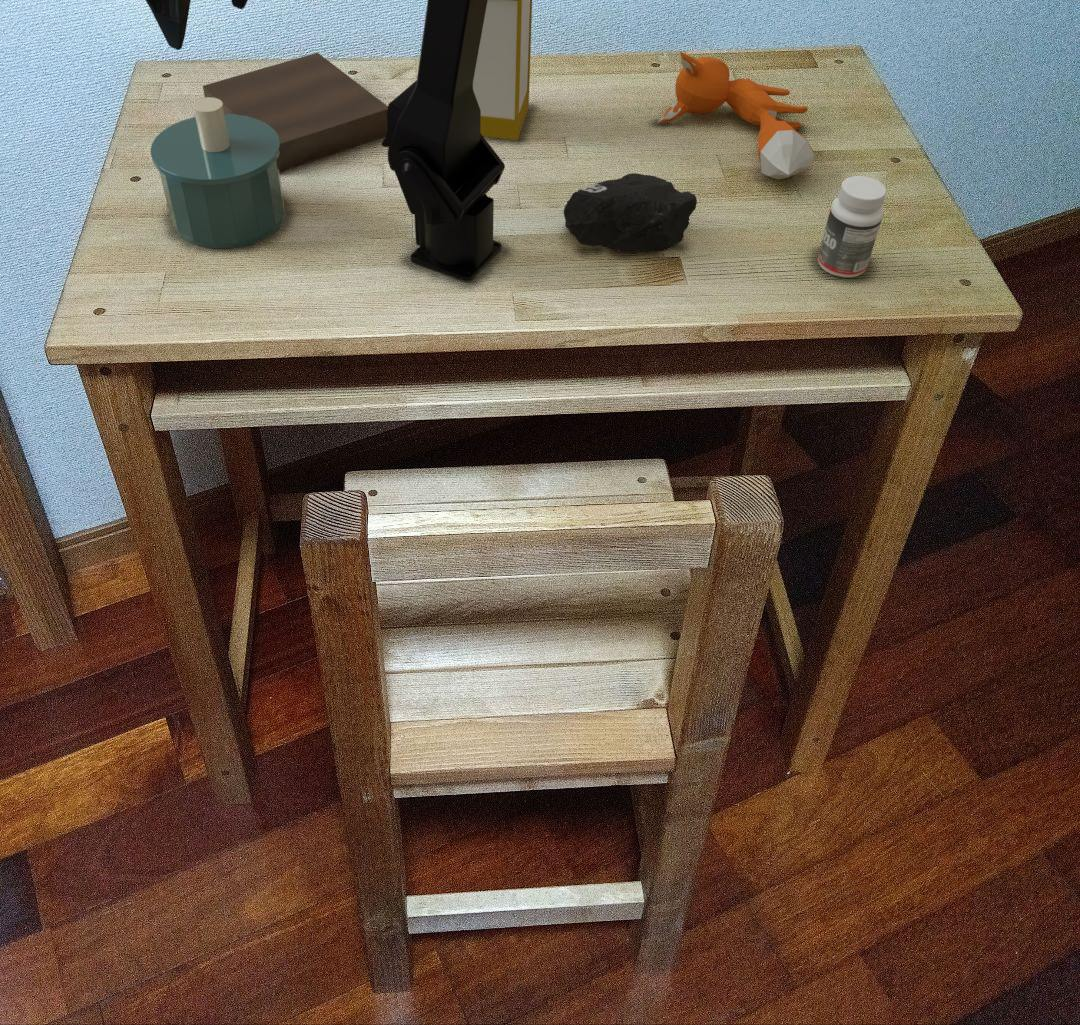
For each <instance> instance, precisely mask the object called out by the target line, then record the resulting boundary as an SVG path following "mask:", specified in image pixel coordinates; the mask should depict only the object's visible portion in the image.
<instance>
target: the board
mask: <svg viewBox="0 0 1080 1025" xmlns="http://www.w3.org/2000/svg"><path fill="white" fill-rule="evenodd" d="M202 90H203V95H204V98H208V97H212V98H217V99H220V100H221V101H222V102H223V107H224V112H225V114H235V115H242V116H247V117H251V118H255V119H257V120H260V121H262V122H264V123H266V124H268V125H269V126H270V127H272V128H273V129H274V130H275V132H276V133H277V134H278V137H279V139H280V146H281V149H280V154H279V157H278V158H277V159H278V165H279V172H280V173H281V172H284V171H287V170H289V169H293V168H296V167H299V166H302V165H305V164H308V163H312V162H314V161H316V160H320V159H323V158H326V157H329V156H331V155H334V154H335V155H336V154H337V153H340V152H344V151H347V150H350V149H353V148H354V147H358V146H362V145H365V144H367V143H370V142H373V141H376V140H379V139H383V138H385V137H386V134H387V110H388V105H387V104H386V103H384V102H383V101H382V100H380V99H379V98H378V97H377V96H375V95H374V94H373V93H371V91H369V90H367V89H366V88H365V87H363V86H362V85H361V84H359V83H358V82H357V81H355V79H353V78H352V77H351V76H349V75H348V74H346V73H345V72H344V71H342V69H340V68H339V67H337V66H336V65H335V64H334V63H332V62H331V61H329V60H328V59H327V58H326V57H324V56H323V55H322V54H320V53H319V52H314V53H310V54H308V55H304V56H300V57H298V58H297V57H296V58H294V59H290V60H287V61H283V62H280V63H276V64H272V65H270V66H266V67H263V68H260V69H256V70H252V71H248V72H245V73H242V74H238V75H235V76H231V77H228V78H225V79H221V80H217V81H213V82H211V83H207V84H204V85H202Z"/></svg>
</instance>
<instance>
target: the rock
mask: <svg viewBox="0 0 1080 1025" xmlns="http://www.w3.org/2000/svg"><path fill="white" fill-rule="evenodd" d="M697 204H698V199H697V196H696V194H694V193H691V192H690V191H679V190H678V189H676V188H675V187H674V184H673V183H672V181H667V180H666V179H664V178H661V177H658V176H656V175H655V176H654V175H650V174H642V173H635V172H633V173H632V172H631V173H627V174H625V175H623V176H622V177H620V178H616V179H608V180H607V179H606V180H604V181H600V182H597V183H593V184H591V185H589V186H586V187H583V188H580V189H578V190H577V191H574V192H573V193H572V194H571V196H570V198H569V199H568V200H567V201H566V204H565V205H564V208H563V216H564V220H565V222H564V227H565V228H566V229H568V232H569V233H570V235H572V236H573V237H574V238H575V239H576V240H577V242H578V243H579V245H582V246H587V247H588V246H589V247H599V246H600V247H603V248H606V249H608V250H612V251H618V252H621V253H625V254H634V253H638V252H642V253H643V252H661V251H667V250H670V249H672V248H674V247H675V245H678V244H680V243H681V242H683V239H684V237H685V236H684V234H685V231H686V230H687V228H688V227H689V225H690V216H691V215H692V214H693V212H694V211H695V210H696V209H697Z"/></svg>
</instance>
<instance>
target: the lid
mask: <svg viewBox="0 0 1080 1025" xmlns="http://www.w3.org/2000/svg"><path fill="white" fill-rule="evenodd" d="M192 108H193V113H194V116H193V117H190V118H186V119H184V120H180V121H178V122H175V123H174V124H171V125H169V126H167V127H166V128H165V129H163V130H162V131H161V132H159V134H157V135H156V137H155V138H154V139H153V141H152V143H151V146H150V157H151V161H152V164H153V166H154V167H155V168H156V170H157V171H160V172H161V173H162V174H164V175H166V176H167V177H169V178H172V179H174V180H177V181H180V182H184V183H189V184H196V185H220V184H228V183H234V182H238V181H242V180H245V179H248V178H251V177H253V176H256V175H258V174H260V173H262V172H263V171H265V170H266V169H268V168H269V167H270V166H271V165H273V163H274V162H275V161H276V160H277V158H278V157H279V154H280V149H281V146H280V139H279V137H278V134H277V133H276V132H275V130H274V129H273V128H272V127H270V126H269V125H268V124H266V123H264V122H262V121H260V120H257V119H255V118H251V117H247V116H242V115H235V114H225V112H224V107H223V102H222V101H221V100H220V99H217V98H212V97H208V98H205V97H202V98H199V99H197V100H196V101H194V102H193V104H192ZM160 172H159V173H160Z"/></svg>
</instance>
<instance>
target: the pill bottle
mask: <svg viewBox="0 0 1080 1025" xmlns="http://www.w3.org/2000/svg"><path fill="white" fill-rule="evenodd" d="M886 194H887V188H886V186H885V185H884V184H883V183H882V182H881V181H880V180H878V179H875V178H873V177H870V176H866V175H853V176H849V177H846V178H845V179H844V180H843V181H842V183H841V185H840V189H839V191H838V196H836V198H835V199H834V200H832V203H831V205H830V209H829V213H828V217H827V221H826V224H825V228H824V232H823V236H822V239H821V243H820V247H819V251H818V254H817V262H818V265H819V267H820V268H821V269H822V270H824V271H825V272H826V273H828V274H830V275H831V276H832V275H833V276H836V277H841V278H856V277H858V276H861V275H862V274H864V273H865V272H866V271H867V268H868V266H869V263H870V259H871V256H872V252H873V249H874V246H875V244H876V240H877V237H878V234H879V230H880V227H881V225H882V224H881V223H882V221H883V217H884V209H883V205H884V203H885V199H886Z"/></svg>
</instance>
